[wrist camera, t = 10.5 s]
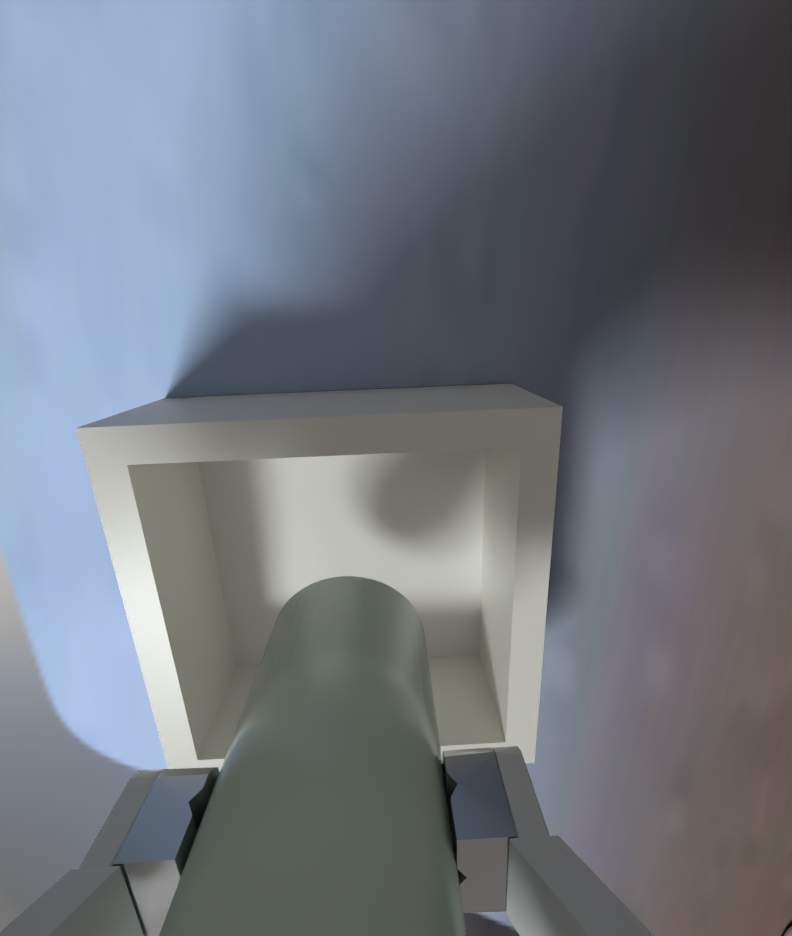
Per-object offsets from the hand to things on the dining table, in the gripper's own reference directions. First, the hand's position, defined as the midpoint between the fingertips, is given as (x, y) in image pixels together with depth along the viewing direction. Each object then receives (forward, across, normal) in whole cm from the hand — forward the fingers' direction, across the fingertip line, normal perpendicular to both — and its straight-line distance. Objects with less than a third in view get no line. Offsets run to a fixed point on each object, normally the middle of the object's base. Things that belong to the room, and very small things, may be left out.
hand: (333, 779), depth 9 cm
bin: (+9, 0, 0) cm, 9 cm away
